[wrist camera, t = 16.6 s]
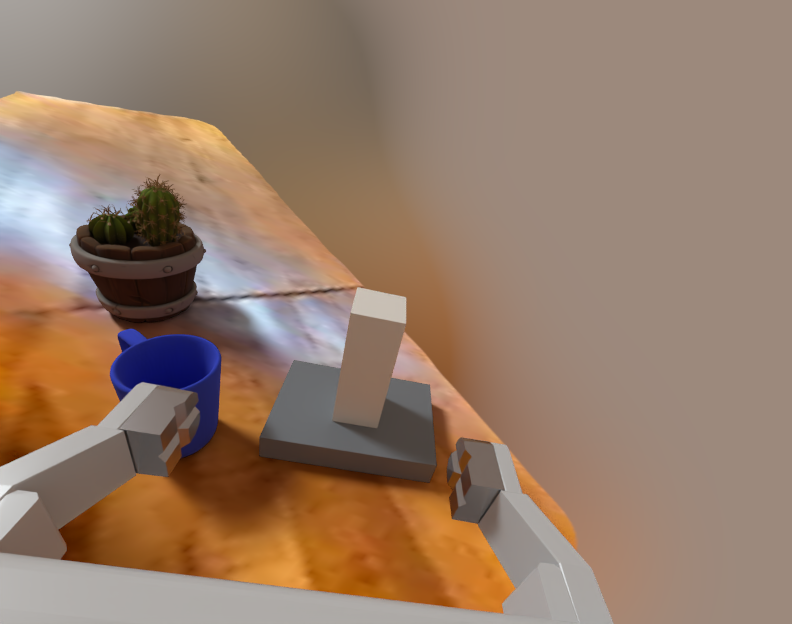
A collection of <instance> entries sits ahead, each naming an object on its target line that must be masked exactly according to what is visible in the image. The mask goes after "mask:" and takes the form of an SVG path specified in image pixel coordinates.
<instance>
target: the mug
mask: <svg viewBox="0 0 792 624" xmlns="http://www.w3.org/2000/svg"><path fill="white" fill-rule="evenodd" d="M118 340H119V343H120V347H121V350H122V353H121V354H120V355H119V356H118V357H117V358H116V360H115V361H114V362H113V364H112V366H111V370H110V378H111V381H112V383H113V386H114V388H115V390H116V393H117V395H118V397H119V400H120V402H121V401H122V400H123V398H124V397H125V396H126V395H127V394H128V393H129V392H130V391H131V390H132V389H133V388H134V387H135V386H136V385H138V384H140V383H142V382H144V383H150V384H155V385H161V386H166V387H171V388H176V389H181V390H186V391H191V392H196V393H197V394H198V400H199V401H198V403H197V404H196V405H195V407H196V408H197V409H198V410H199V411H200V422H199V426H198V429H197V431H196V434H195V436H194V437H193V439H192V441H191V442H190V443H189V444H187V445H186V446H184V447H182V448H181V454H182V457H181V458H183V457H186V456H189V455H191V454H193V453H195V452H197V451H198V450H200V449H201V448H203V447H204V446H205V445H206V444H207V443H208V442H209V441H210V439H211V438H212V437H213V435H214V433H215V431H216V428H217V424H218V412H219V392H220V373H221V354H220V352H219V350H218V348H217V347H216V346H215V345H214V344H213V343H211V342H210V341H208V340H206V339H204V338H201V337H197V336H193V335H185V334H174V335H164V336H158V337H154V338H150V339H146V338H145V337H144V336H143V335H142V334H141V333H139V332H138V331H137V330H135V329H127V330H124V331H121V332H120V333H118Z"/></svg>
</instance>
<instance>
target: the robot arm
mask: <svg viewBox="0 0 792 624" xmlns="http://www.w3.org/2000/svg"><path fill="white" fill-rule="evenodd" d="M198 401H199V400H198V394H197V393H196V392H191V391H186V390H181V389H176V388H171V387H166V386H161V385H155V384H150V383H144V382H142V383H140V384H138V385H136V386H135V387H134V388H133V389H132V390H131V391H130V392H129V393H128V394H127V395H126V396H125V397H124V398H123V400H122V401H121V402H120V403H119V404H118V405H117V406H116V407H115V408H114V409H113V410H112V411H111V412H110V413H109V414H108V415H107V416H106V417H105V418H104V419H103V420H102V421H101V422H100V424H99V425H98V426H92V425H91V426H89V427H87V428H84V429H82V430H80V431H78V432H76V433H73V434H71V435H69V436H67V437H65V438H63V439H60V440H58V441H56V442H54V443H52V444H49V445H47V446H45V447H43V448H41V449H38V450H36V451H34V452H32V453H30V454H28V455H25V456H23V457H21V458H19V459H17V460H14V461H12V462H10V463H8V464H6V465H3V466H1V467H0V624H613V621H612V618H611V616H610V613H609V611H608V609H607V606H606V603H605V601H604V598H603V596H602V594H601V591H600V588H599V586H598V583H597V581H596V578H595V576H594V573H593V571H592V569H591V567H590V566H589V565H588V564H587V563H586V562H585V560H583V558H582V557H581V556H580V555H579V554H578V552H577V551H576V550H575V549H574V548H573V547H572V545H571V544H570V543H569V542H568V541H567V540H566V539H565V537H564V536H563V535H562V534H561V533H560V532H559V531H558V529H557V528H556V527H555V526H554V525H553V524H552V523H551V521H550V520H549V519H548V518H547V517H546V516H545V515H544V513H543V512H542V511H541V510H540V509H539V508H538V506H537V505H536V504H535V503H534V502H533V501H532V500H531V498H530V497H529V496H528V495H527V494H523V493H522V490H521V487H520V484H519V481H518V477H517V474H516V471H515V468H514V464H513V461H512V458H511V455H510V451H509V448H508V447H507V446H506V445H503V444H497V443H490V442H487V441H481V440H474V439H468V438H462V437H461V438H460V439H458V441H457V443H456V450H457V451H455V452H453V453H451V456H450V458H449V460H448V466H447V482H448V485H449V486H450V487H451V489H452V490H453V491H452V493H451V495H450V497H449V500H450V508H451V516H452V519H455V520H460V521H466V522H472V523H477V524H478V526H479V528H480V529H481V531H482V533H483V535H484V536H485V538H486V540H487V541H488V543H489V545H490V546H491V548H492V550H493V551H494V553H495V555H496V556H497V558H498V560H499V561H500V563H501V565H502V566H503V568H504V570H505V571H506V573H507V575H508V576H509V578H510V580H511V581H512V583H513V585H514V586H515V588H516V589H515V590H514V591H513V592H512V593H511V594H510V595H509V596H508V598H507V599H506V600H505V601H504V602H503V604H502V606H503V611H504V614H502V613H494V612H486V611H477V610H469V609H461V608H453V607H445V606H437V605H428V604H420V603H412V602H404V601H396V600H387V599H379V598H371V597H363V596H355V595H347V594H338V593H330V592H322V591H314V590H305V589H297V588H289V587H281V586H273V585H264V584H256V583H248V582H240V581H231V580H223V579H215V578H207V577H199V576H190V575H182V574H174V573H166V572H157V571H149V570H141V569H133V568H125V567H116V566H108V565H100V564H92V563H83V562H75V561H67V560H60V559H61V558H62V556H63V555H64V554H65V552H66V551H67V547H66V543H65V541H64V539H63V538H62V536H61V534H60V532H59V531H58V529H60V528H61V527H63V526H64V525H66V524H67V523H68V522H70V521H71V520H73V519H74V518H76V517H77V516H78V515H80V514H81V513H83V512H84V511H86V510H87V509H88V508H90V507H91V506H93V505H94V504H96V503H97V502H98V501H100V500H101V499H103V498H104V497H106V496H107V495H108V494H110V493H111V492H113V491H114V490H116V489H117V488H118V487H120V486H121V485H123V484H124V483H126V482H127V481H128V480H130V479H131V478H133V477H134V476H136V473H139V474H147V475H156V476H164V477H169V475H170V474H171V472H172V471H173V469H174V467H175V466H176V464H177V463H178V461H179V460H180V458H181V457H182V454H181V448H182V447H184V446H186V445H187V444H189V443H190V442H191V441H192V439H193V437H194V436H195V434H196V431H197V429H198V426H199V422H200V411H199V410H198V409H197V408H196V407H195V405H196V404H197V403H198Z"/></svg>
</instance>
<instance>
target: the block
mask: <svg viewBox="0 0 792 624" xmlns="http://www.w3.org/2000/svg"><path fill="white" fill-rule="evenodd" d="M405 326H406V297H402V296H397V295H392V294H387V293H382V292H378V291H372V290H368V289H363V288H357V291H356V295H355V299H354V302H353V306H352V310H351V314H350V320H349V325H348V331H347V337H346V343H345V348H344V354H343V360H342V366H341V371H340V377H339V383H338V389H337V395H336V400H335V406H334V412H333V418H332V421H336V422H342V423H348V424H354V425H360V426H366V427H372V428H377V427H378V424H379V420H380V416H381V413H382V409H383V405H384V402H385V398H386V395H387V391H388V387H389V384H390V380H391V376H392V373H393V369H394V366H395V362H396V358H397V355H398V351H399V347H400V344H401V340H402V337H403V333H404V329H405Z"/></svg>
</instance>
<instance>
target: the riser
mask: <svg viewBox="0 0 792 624" xmlns="http://www.w3.org/2000/svg"><path fill="white" fill-rule="evenodd" d="M340 371H341V369H340V368H334V367H329V366H323V365H318V364H312V363H307V362H301V361H296V360H294V361H293V363H292V365H291V368H290V370H289V372H288V374H287V377H286V379H285V381H284V383H283V386H282V388H281V390H280V392H279V395H278V397H277V399H276V401H275V404H274V406H273V408H272V410H271V413H270V415H269V417H268V419H267V422H266V424H265V426H264V428H263V431H262V433H261V435H260V445H259V456H261V457H267V458H273V459H280V460H286V461H293V462H299V463H305V464H312V465H318V466H325V467H331V468H337V469H344V470H350V471H357V472H363V473H369V474H376V475H382V476H389V477H395V478H401V479H408V480H414V481H421V482H427V483H429V482H430V480H431V477H432V475H433V473H434V471H435V468H436V466H437V463H436V452H435V440H434V428H433V416H432V405H431V393H430V385H428V384H422V383H417V382H411V381H406V380H400V379H395V378H391V380H390V384H389V387H388V391H387V395H386V398H385V402H384V405H383V409H382V413H381V416H380V420H379V424H378V427H377V428H372V427H366V426H360V425H354V424H348V423H342V422H336V421H332V418H333V412H334V406H335V400H336V395H337V389H338V383H339V377H340Z"/></svg>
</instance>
